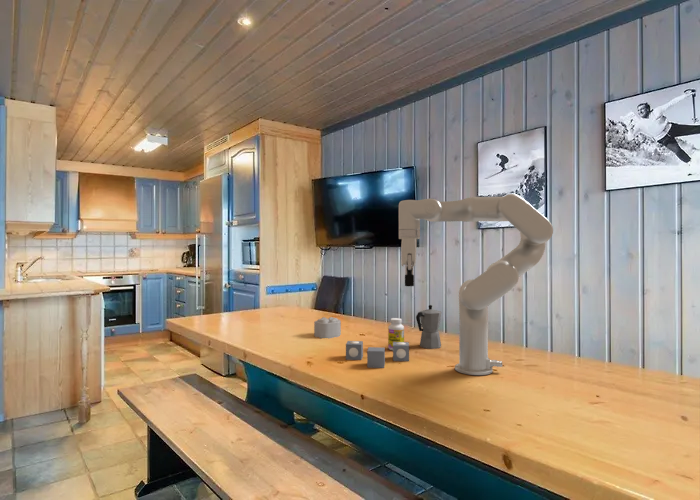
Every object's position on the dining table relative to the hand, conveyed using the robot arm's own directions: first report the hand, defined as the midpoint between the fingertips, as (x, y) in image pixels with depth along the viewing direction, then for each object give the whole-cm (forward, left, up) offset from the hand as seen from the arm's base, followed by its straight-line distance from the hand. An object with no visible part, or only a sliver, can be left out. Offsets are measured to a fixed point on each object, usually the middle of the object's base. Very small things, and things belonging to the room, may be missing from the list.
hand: (409, 285), depth 153 cm
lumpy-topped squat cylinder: (+38, -52, -29) cm, 71 cm away
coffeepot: (-9, -33, -29) cm, 45 cm away
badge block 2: (+3, -11, -29) cm, 31 cm away
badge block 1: (+21, -11, -29) cm, 38 cm away
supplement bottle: (+5, -27, -29) cm, 40 cm away
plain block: (+12, -1, -29) cm, 32 cm away
